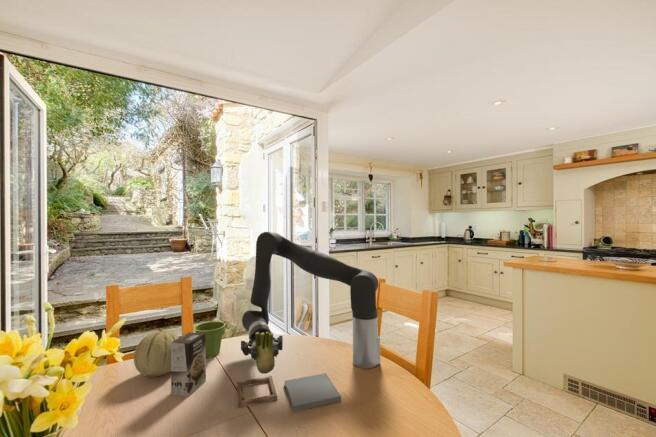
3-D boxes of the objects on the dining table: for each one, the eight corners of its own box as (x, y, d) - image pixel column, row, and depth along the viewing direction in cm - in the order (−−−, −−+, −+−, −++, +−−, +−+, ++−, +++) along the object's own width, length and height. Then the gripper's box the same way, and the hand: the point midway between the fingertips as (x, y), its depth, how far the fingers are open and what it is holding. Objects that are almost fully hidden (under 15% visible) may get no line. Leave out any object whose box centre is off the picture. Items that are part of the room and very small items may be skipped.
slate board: (326, 377, 101) (326, 373, 101) (341, 401, 87) (341, 396, 87) (284, 385, 96) (284, 380, 96) (293, 411, 83) (293, 406, 83)
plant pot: (232, 351, 122) (231, 323, 122) (206, 363, 112) (206, 333, 112) (213, 345, 128) (213, 319, 128) (187, 356, 118) (187, 327, 118)
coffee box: (188, 397, 90) (188, 343, 90) (170, 394, 92) (169, 342, 92) (206, 381, 99) (206, 332, 99) (189, 379, 101) (189, 331, 101)
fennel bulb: (252, 371, 92) (252, 332, 92) (265, 365, 96) (265, 327, 96) (264, 377, 89) (264, 336, 89) (277, 371, 92) (277, 332, 92)
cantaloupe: (138, 391, 94) (137, 343, 94) (130, 373, 105) (130, 330, 105) (188, 374, 104) (187, 331, 104) (176, 360, 115) (176, 320, 115)
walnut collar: (271, 379, 100) (271, 375, 100) (277, 399, 88) (277, 395, 88) (237, 385, 96) (237, 381, 96) (238, 407, 85) (238, 403, 85)
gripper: (238, 326, 104) (240, 346, 87) (280, 321, 108) (289, 339, 92) (238, 348, 104) (241, 371, 87) (280, 342, 108) (289, 363, 92)
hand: (265, 355), depth 90 cm, fingers closed on fennel bulb, 5 cm apart
